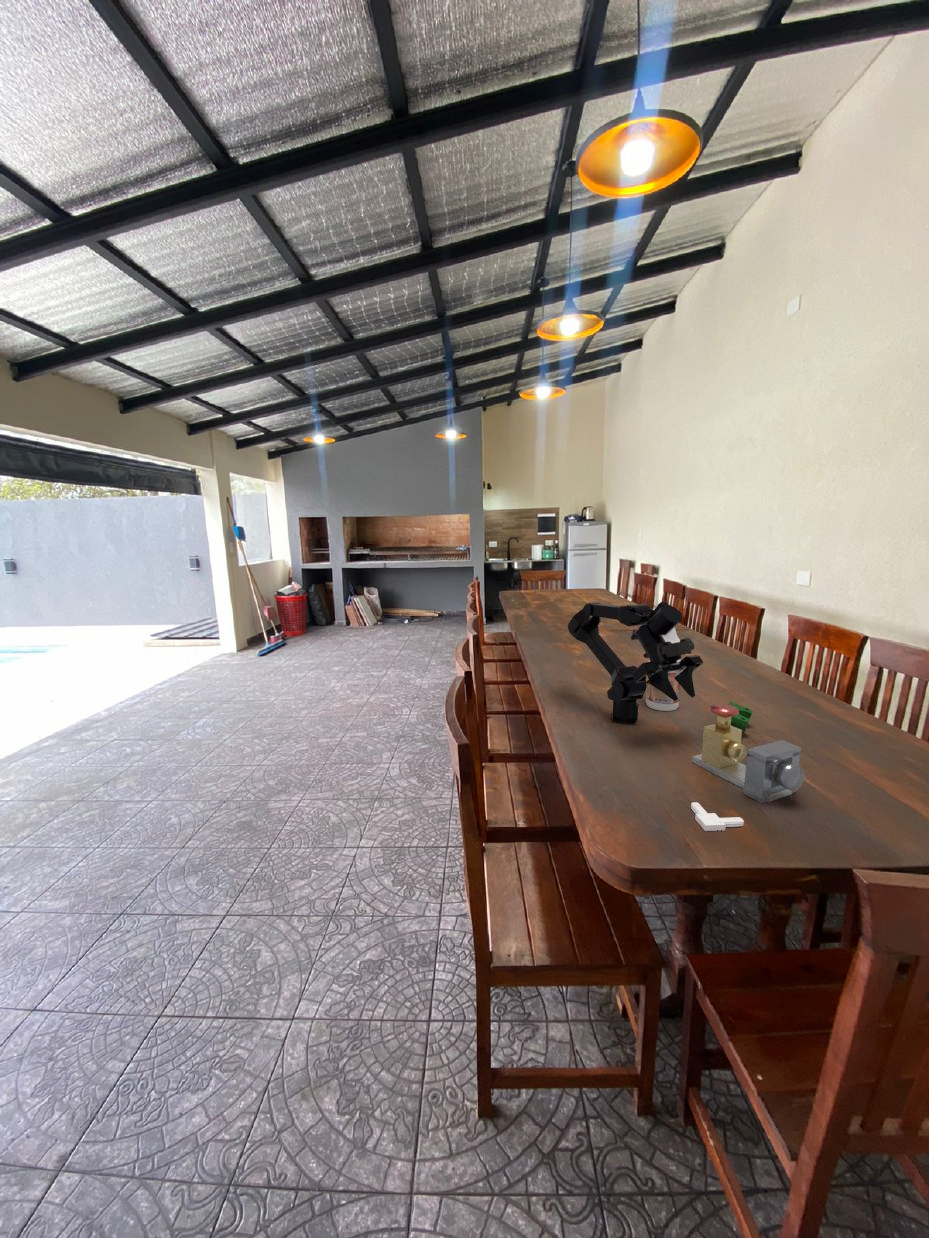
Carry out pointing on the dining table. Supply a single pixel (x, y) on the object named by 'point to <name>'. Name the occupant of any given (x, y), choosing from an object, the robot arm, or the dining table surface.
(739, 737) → the valve
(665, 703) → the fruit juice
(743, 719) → the clamp
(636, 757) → the dining table surface
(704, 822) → the corner connector
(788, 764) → the grey ball socket brick
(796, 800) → the dining table surface
